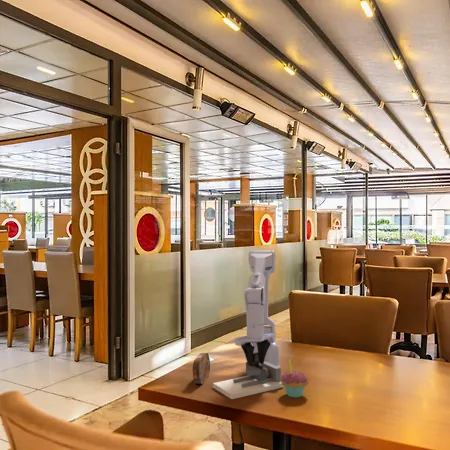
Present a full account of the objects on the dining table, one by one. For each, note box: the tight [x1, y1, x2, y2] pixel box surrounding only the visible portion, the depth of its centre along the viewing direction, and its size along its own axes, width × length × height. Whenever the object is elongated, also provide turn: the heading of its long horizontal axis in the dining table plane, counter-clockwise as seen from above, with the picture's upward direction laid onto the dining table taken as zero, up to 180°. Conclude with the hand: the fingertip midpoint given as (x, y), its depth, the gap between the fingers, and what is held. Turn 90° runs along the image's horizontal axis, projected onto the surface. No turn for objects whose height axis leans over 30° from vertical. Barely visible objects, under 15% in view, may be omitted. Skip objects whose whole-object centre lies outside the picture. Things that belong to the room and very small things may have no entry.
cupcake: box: [281, 358, 309, 398], centre depth 145 cm, size 9×8×12 cm
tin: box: [192, 352, 211, 385], centre depth 160 cm, size 15×3×8 cm, turn 168°
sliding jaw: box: [245, 352, 266, 382], centre depth 153 cm, size 2×9×8 cm, turn 30°
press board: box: [212, 361, 285, 400], centre depth 152 cm, size 20×12×6 cm, turn 120°
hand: (255, 364), depth 153 cm, fingers open, 4 cm apart
